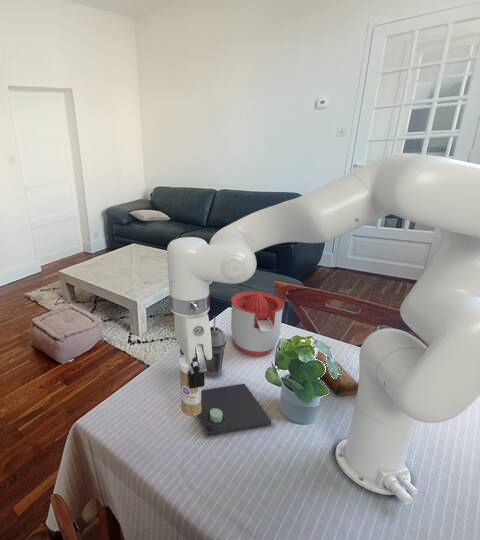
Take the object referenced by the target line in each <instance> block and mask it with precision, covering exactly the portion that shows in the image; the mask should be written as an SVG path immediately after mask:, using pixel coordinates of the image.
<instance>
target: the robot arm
mask: <svg viewBox="0 0 480 540" xmlns="http://www.w3.org/2000/svg"><path fill="white" fill-rule="evenodd" d="M390 215H393V216H395V217H398V218H400V219H403V220H405V221H409V222H411V223H415V224H419V225H423V226H427V227H430V228H434V229H439V230H440V240H439V241H440V242H439V246H438V248H437V251H436V253H435V254H434V256H433V257H432V259H431V261H430V262H429V264H428V265H427V267H426V268H425V269H424V271H423V272H422V274H421V275H420V276H419V278H418V279H417V281H416V282H415V283H414V285H413V286H412V287H411V289H410V291H409V292H408V293H407V295H406V296H405V297H404V299H403V301H402V303H401V305H400V307H399V315H400V317H401V319H402V321H403V322H404V323H405V325H407V327H408V328H410V330H411V331H413V333H414V334H416V335H417V336H418V337H419V338H420V339H421V340H423V342H422V341H421V340H419V339H418V338H417V337H416V336H414V335H412V334H411V333H410V332H407V331H404V330H402V329H397V328H393V329H390V328H388V329H380V330H377V329H376V330H377V331H376V330H375V331H373V332H372V333H370V334H369V335H367V336H366V338H364V340H363V341H362V344H361V347H360V350H359V359H358V363H359V367H358V368H359V371H358V373H359V374H358V376H359V377H358V382H359V384H358V390H357V393H356V394H355V395H356V396H355V400H354V404H353V409H352V413H351V418H350V423H349V429H348V434H347V438H345V439H343V440H340V441H339V442H338V443H337V445H336V448H335V452H334V453H335V454H334V455H335V461H336V462H337V464H338V466H339V468H340V469H341V471H342V472H343V473H344V474H345V475H346V476H347V477H348V478H349V479H350V480H352V481H353V482H354V483H356V485H357V484H358V485H359V486H360V487H362V488H364V489H365V490H369V491H371V492H373V493H377V494H380V495H385V496H396V497H397V498H398V499H399V501H400V502H401V503H402V504H403V505H404V506H409V505H411V504H413V503H414V501H415V500H414V498H413V497H412V496H416V495H418V494H419V492H420V491H419V490H418V489H417V487H415V486H414V485H413V484H412V483H411V479H412V477H411V473H410V469H409V468H408V467H407V465H406V459H407V456H408V453H409V450H410V447H411V443H412V439H413V437H414V434H415V429H416V426H417V424H418V422H421V423H423V424H424V423H425V424H440V423H444V422H448V421H450V420H453V419H454V418H456V417H458V416H459V415H461V414H462V413H463V412H464V411H466V410H467V409H468V408H469V407H470V406H471V405H472V404H473V403H475V401H476V400H477V399H478V398H479V397H480V164H479V163H474V162H467V161H463V160H459V159H455V158H450V157H445V156H439V155H432V154H420V153H410V152H409V153H408V152H397V153H393V154H388V155H384V156H382V157H380V158H377V159H375V160H373V161H371V162H368V163H367V164H364V165H363V166H360V167H358V168H356V169H354V170H352V171H350V172H348V173H347V174H344V175H342V176H340V177H338V178H336V179H334V180H332V181H329V182H328V183H326V184H324V185H322V186H320V187H318V188H316V189H314V190H311V191H309V192H308V193H305V194H303V195H301V196H298V197H295V198H292V199H288V200H286V201H282V202H280V203H278V204H275V205H271V206H267V207H265V208H262V209H260V210H257V211H254V212H252V213H250V214H248V215H245V216H243V217H241V218H240V219H237V220H236V221H233V222H232V223H230V224H228V225H226V226H224V227H222V228H220V229H219V230H217V232H215V233H214V234H213V236H212V237H211V238H210V240H209V243H208V242H207V241H206V240H205V239H203V238H200V237H197V236H196V237H195V236H183V237H178V238H175V239H173V240H171V241H170V242H169V243H168V245H167V248H166V257H167V272H168V273H167V274H168V290H169V291H168V292H169V307H170V311H171V313H172V314H173V315H174V334H175V335H174V336H175V340H176V343H177V344H178V346H179V353H180V356H179V358H180V357H181V356H183V355H184V356H185V357H186V359H187V361H189V369H190V371H188V382H189V388H190V389H192V388H198V387H201V388H202V387H204V386H205V384H206V383H205V380H206V379H205V371H207V368H206V363H205V359H204V356H205V357H206V359H207V360H211V359H212V343H211V331H210V327H211V324H210V323H211V322H210V318H209V317H210V316H209V311H210V307H211V303H210V299H211V298H210V282H214V283H219V284H220V283H221V284H228V285H235V284H241V283H244V282H246V281H248V280H250V279H251V278H252V277H253V276H254V275H255V272H256V270H257V265H258V263H257V257H256V254H255V253H257V252H259V251H261V250H264V249H266V248H269V247H271V246H275V245H279V244H285V243H302V244H303V243H304V244H305V243H306V244H322V243H327V242H330V241H333V240H335V239H337V238H339V237H341V236H344V235H346V234H347V233H350V232H352V231H355V230H357V229H359V228H362V227H364V226H367V225H369V224H371V223H374V222H376V221H378V220H381V219H383V218H385V217H387V216H390ZM425 343H426V344H427V345H428V346H426V345H425ZM195 355H196V357H195ZM193 362H197V364H198V366H194V367H193ZM408 492H409V493H410V494H411V495H410V494H409V493H408Z"/></svg>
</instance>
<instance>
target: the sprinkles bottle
mask: <svg viewBox="0 0 480 540" xmlns="http://www.w3.org/2000/svg"><path fill="white" fill-rule="evenodd" d="M180 356H181V357H180ZM180 356H179V359H178V369H179V375H180V377H179V378H180V379H179V382H180V387H179V388H180V403H181V405H180V409H181V412H182V413H183V415H185V416H188V417H196V416H198V414H200V413H201V410H202V407H201V390H202V387H198V388H192V389H190V388H189V382H188V371H190V369H189V361H187V359H186V357H185V356H184V355H183V356H182V355H180ZM195 357H196V355H195ZM194 366H198V364H197V362H193V367H194Z"/></svg>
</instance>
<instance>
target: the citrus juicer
mask: <svg viewBox="0 0 480 540" xmlns="http://www.w3.org/2000/svg"><path fill="white" fill-rule="evenodd" d="M230 302H231V303H230V304H231V315H230V316H231V317H230V325H231V326H230V330H231V335H232V339H233V342H234V345H235V347H236V348H237V350H239V351H240V352H241V353H244V354H245V355H250V356H254V357H263V356H267V355H269V354H271V353H272V352H273V350H274V349H275V348H276V345H277V343H278V341H279V338H280V335H281V328H282V319H283V318H282V317H283V309H284V306H285V303H284V301H283V299H281V298H280V297H278V296H276V295H274V294H272V293H269V292H264V291H256V290H255V291H254V290H251V291H242V292H238V293H236V294H234V295H233V296H232V297H231V299H230Z"/></svg>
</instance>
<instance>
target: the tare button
mask: <svg viewBox="0 0 480 540" xmlns="http://www.w3.org/2000/svg"><path fill="white" fill-rule="evenodd" d="M222 417H223V413H222V411H221V410H220V409H217V408H213V409H211V410H210V419H211V421H213V422H215V423H219V422H221V421H222Z"/></svg>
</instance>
